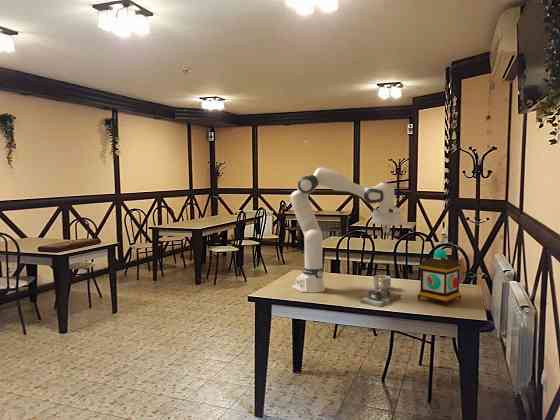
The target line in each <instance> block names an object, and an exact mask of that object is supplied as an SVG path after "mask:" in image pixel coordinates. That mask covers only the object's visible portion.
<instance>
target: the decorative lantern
mask: <svg viewBox="0 0 560 420" xmlns="http://www.w3.org/2000/svg"><path fill="white" fill-rule="evenodd" d="M418 266H419V269H420V290H419V292H418V294H417V300H418V301H419V302H420V301H421V300H422V298H426V299H430V300H434V301H439V302H443V305H444V307H445V308H447V307H448V303H449V302H451V301H453V300H456V299H457V301H458V302H461V301H462V294H461V292H460V289H459V288H460V286H459V285H460V269H461V268H462V264H461V263H459V262H458V261H455V260H453V259H451V258H450V256H448V253H447V252H446V250H445V249H443V248H441V247H440V248H438V249H436V250H435V251H434V252H433V256H431V258H429V259H427V260H424V261H423V262H420V263H419V265H418Z"/></svg>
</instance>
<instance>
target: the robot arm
mask: <svg viewBox="0 0 560 420" xmlns="http://www.w3.org/2000/svg"><path fill="white" fill-rule="evenodd" d="M318 186H321V187H325V188H328V189H331V190H333V191H338V192H349V193H351V194H353V195H356V196H358V197H360V198H362V199H363V200H364V202H366V203H368V204H371V205H372V204H378V208H374V209H373V210H372V215H371V223H372V224H374V225H376V224H377V225H381V227H382V229H383V231H382V232H383V233H390V229H391V228H392V226H395V227H400V226H402V224H403V216H402V215H403V214H402V208H399V207H397V206H396V205H395V186H394V185H393V183H391V182H386V181H381V182H380V183H378V184H376V185H373V186H363V185H360V184H358V183H355V182H353V181H351V180H350V179H349V178H348V177H346V175H343V174H342V173H340V172H338V171H336V170H334V169H330V168H326V167H318V168H316V170H315V171H314V173H313V174H305V175H303V176H301V177H300V178H299V179H298V181H297V190H295V191H293V192H291V194H290V197H289V198H290V203H291V206H292V210H293V211H294V212H293V213H294V214H295V218H296V220H297V222H298V225H299V227H300V229H301V231H302V234H303V236H304V237H303V238H304V239H303V241H304V242H303V243H304V267H302V268H301V270H302V272H301V273H300V274H299V276H297V277H296V278H295V284H292V285H291V288H293V289H294V290H297V291H298V292H301V293H322V292H325V291H326V286H325V280H324V268H323V245H324V244H323V242H324V239H323V233H322V232H323V231H322V230H321V227H320V225H319V222H318V219H317V217H316V215H315V212H314V210H313V207H312V204H311V201H310V200H309V195H310V194H312V193H313V192H314V191H315V190H316V188H317V187H318Z"/></svg>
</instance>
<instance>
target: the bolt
mask: <svg viewBox="0 0 560 420" xmlns="http://www.w3.org/2000/svg"><path fill="white" fill-rule="evenodd" d="M378 281H379V290H378V291H380V292H381V296H383V295H385V292H386V291H385V290H383V283H384V279H383V278H379V279H378ZM384 291H385V292H384ZM371 298H374V299H376V294H371Z"/></svg>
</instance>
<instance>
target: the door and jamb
mask: <svg viewBox="0 0 560 420" xmlns="http://www.w3.org/2000/svg"><path fill="white" fill-rule="evenodd" d="M383 291H384V292H385V295H383V296H381V292H380V291H379V290H374V289H372V290H369V291H368V296H366V297H362V298H360V301H359V303H360V304H364V305H369V306H373V307H377V308H381V307H383V306H386V305H388V304H390V303H392V302H395V301H397V300H400V299H401V298H402V294H399V293H395V292H391V290H389V289H387V290H383ZM371 294H376V299H374V298H371Z"/></svg>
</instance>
